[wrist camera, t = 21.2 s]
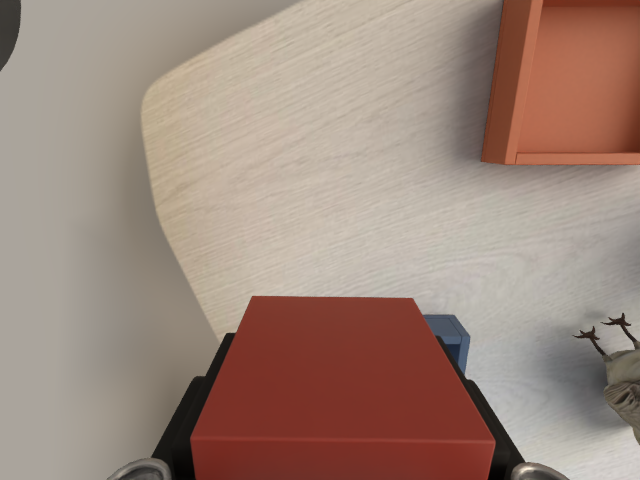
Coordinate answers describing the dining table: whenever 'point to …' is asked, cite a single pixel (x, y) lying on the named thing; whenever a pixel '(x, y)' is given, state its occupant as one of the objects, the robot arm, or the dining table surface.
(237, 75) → the dining table surface
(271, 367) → the red block
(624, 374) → the decorative bird
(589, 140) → the terracotta tray
